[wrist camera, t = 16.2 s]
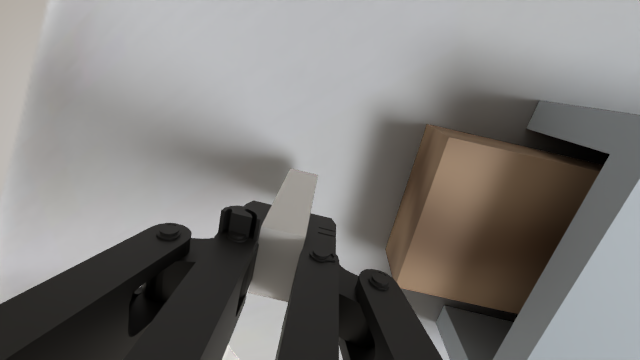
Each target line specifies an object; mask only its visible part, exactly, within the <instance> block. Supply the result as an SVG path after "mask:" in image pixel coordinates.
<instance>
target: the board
mask: <svg viewBox="0 0 640 360" xmlns="http://www.w3.org/2000/svg"><path fill="white" fill-rule="evenodd" d="M603 166H604V165H603V164H599V163H595V162H590V161H586V160H582V159H577V158H573V157H568V156H564V155H560V154H555V153H551V152H547V151H542V150H538V149H534V148H529V147H525V146H521V145H516V144H512V143H508V142H503V141H499V140H495V139H490V138H486V137H482V136H477V135H473V134H468V133H464V132H460V131H455V130H451V129H447V128H442V127H438V126H434V125H429V124H427V125H426V128H425V131H424V134H423V137H422V140H421V143H420V147H419V150H418V153H417V156H416V159H415V162H414V165H413V168H412V171H411V174H410V177H409V180H408V183H407V186H406V189H405V192H404V195H403V198H402V201H401V204H400V207H399V210H398V213H397V216H396V219H395V222H394V225H393V228H392V231H391V234H390V237H389V240H388V243H387V246H386V249H385V250H386V254H387V258H388V262H389V266H390V269H391V273H392V277H393V279H394V280H395V281H396V282H397V283H398V285H399V287H400V288H402V289H407V290H411V291H416V292H420V293H425V294H429V295H434V296H438V297H443V298H447V299H452V300H456V301H461V302H465V303H470V304H474V305H479V306H483V307H488V308H493V309H497V310H502V311H506V312H511V313H515V314H519V313H520V311H521V309H522V307H523V306H524V304H525V302H526V300H527V299H528V297H529V295H530V293H531V292H532V290H533V288H534V286H535V285H536V283H537V281H538V279H539V278H540V276H541V274H542V272H543V271H544V269H545V267H546V265H547V264H548V262H549V260H550V258H551V257H552V255H553V253H554V251H555V250H556V248H557V246H558V244H559V243H560V241H561V239H562V237H563V236H564V234H565V232H566V230H567V229H568V227H569V225H570V223H571V222H572V220H573V218H574V216H575V215H576V213H577V211H578V209H579V208H580V206H581V204H582V202H583V201H584V199H585V197H586V195H587V194H588V192H589V190H590V188H591V187H592V185H593V183H594V181H595V180H596V178H597V176H598V174H599V173H600V171H601V169H602V168H603Z"/></svg>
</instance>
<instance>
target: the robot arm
mask: <svg viewBox="0 0 640 360" xmlns="http://www.w3.org/2000/svg"><path fill="white" fill-rule="evenodd" d="M317 178H318V175H316V174H311V173H307V172H303V171H299V170H295V169H291V168H290V170H289V172H288V174H287V176H286V178H285V180H284V182H283V184H282V186H281V188H280V190H279V192H278V194H277V196H276V198H275V200H274V202H273V204H272V205H270V204H265V203H261V202H257V201H252V202H250V203H247V204H246V205H245V206H230V207H226V208H224V209H223V210H221V216H220V223H219V230H218V233H217V234H216V236H215V237H214V238H210V239H196V238H191V231H190V230H189V229H188V228H187V227H185V226H183V225H179V224H176V223H165V224H158V225H155V226H152V227H150V228H148V229H146V230H144V231H142V232H140V233H139V234H137V235H135V236H133V237H131V238H129V239H127V240H125V241H123V242H121V243H119V244H117V245H115V246H113V247H111V248H109V249H107V250H105V251H103V252H101V253H99V254H97V255H95V256H94V257H92V258H90V259H88V260H86V261H84V262H82V263H80V264H78V265H76V266H74V267H72V268H70V269H68V270H66V271H64V272H62V273H60V274H58V275H56V276H54V277H52V278H51V279H49V280H47V281H45V282H43V283H41V284H39V285H37V286H35V287H33V288H31V289H29V290H27V291H25V292H23V293H21V294H19V295H17V296H15V297H13V298H11V299H9V300H7V301H6V302H4V303H2V304H0V360H222V358H223V356H224V353H225V351H226V348H227V346H228V343H229V341H230V338H231V336H232V333H233V331H234V328H235V326H236V323H237V321H238V318H239V316H240V313H241V311H242V308H243V306H244V303H245V299H246V294H247V290H248V288H249V291H248V293H251V294H256V295H260V296H264V297H268V298H273V299H277V300H281V301H286V302H288V306H287V310H286V314H285V318H284V322H283V326H282V332H281V336H280V341H279V345H278V350H277V354H276V359H275V360H339V346H340V350H341V354H342V357H343V360H443V359H442V357H441V356H440V354H439V352H438V351H437V349H436V347H435V346H434V344H433V342H432V341H431V339H430V337H429V336H428V334H427V332H426V331H425V329H424V327H423V325H422V324H421V322H420V320H419V319H418V317H417V315H416V314H415V312H414V310H413V309H412V307H411V305H410V304H409V302H408V300H407V299H406V297H405V295H404V293H403V292H402V290H401V288H400V287H399V285H398V283H397V282H396V281H395V280H394V279H393V278H392V277H390V276H389V275H388V274H386V273H384V272H382V271H379V270H374V269H366V270H364V271H362V272H361V273H360V275H359V276H357V275H355V274H353V273H351V272H349V271H347V270H345V269H344V268H343V267H341V266H340V265H339V259H338V256H337V255H336V224H335V223H334V221H333V220H332V219H331V218H327V217H323V216H319V215H315V214H311V208H312V203H313V198H314V193H315V188H316V183H317ZM249 285H250V286H249ZM140 286H141V287H140ZM139 287H140V288H139Z"/></svg>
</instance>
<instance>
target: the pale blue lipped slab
mask: <svg viewBox="0 0 640 360" xmlns="http://www.w3.org/2000/svg"><path fill="white" fill-rule="evenodd" d="M526 129H530V130H533V131H536V132H539V133H543V134H546V135H549V136H552V137H556V138H559V139H562V140H565V141H569V142H572V143H575V144H578V145H582V146H585V147H588V148H592V149H595V150H598V151H601V152H605V153H608V154H610V155H609V157H608V159H607V161H606V162H605V164H604V166H603V168H602V169H601V171H600V173H599V174H598V176H597V178H596V180H595V181H594V183H593V185H592V187H591V188H590V190H589V192H588V194H587V195H586V197H585V199H584V201H583V202H582V204H581V206H580V208H579V209H578V211H577V213H576V215H575V216H574V218H573V220H572V222H571V223H570V225H569V227H568V229H567V230H566V232H565V234H564V236H563V237H562V239H561V241H560V243H559V244H558V246H557V248H556V250H555V251H554V253H553V255H552V257H551V258H550V260H549V262H548V264H547V265H546V267H545V269H544V271H543V272H542V274H541V276H540V278H539V279H538V281H537V283H536V285H535V286H534V288H533V290H532V292H531V293H530V295H529V297H528V299H527V300H526V302H525V304H524V306H523V307H522V309H521V311H520V313H519V314H518V316H517V318H516V320H515V321H514V322H511V321H507V320H503V319H498V318H494V317H490V316H486V315H482V314H478V313H474V312H470V311H465V310H461V309H457V308H453V307H449V306H445V305H444V307H443V309H442V311H441V313H440V315H439V317H438V319H437V322H436V324H437V327H438V330H439V332H440V335H441V337H442V340H443V343H444V345H445V348H446V350H447V353H448V356H449V358H450V360H640V115H636V114H629V113H622V112H615V111H609V110H602V109H595V108H588V107H581V106H574V105H567V104H561V103H554V102H547V101H539V103H538V105H537V107H536V109H535V111H534V113H533V116H532V118H531V120H530V122H529V124H528V126H527V128H526Z"/></svg>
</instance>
